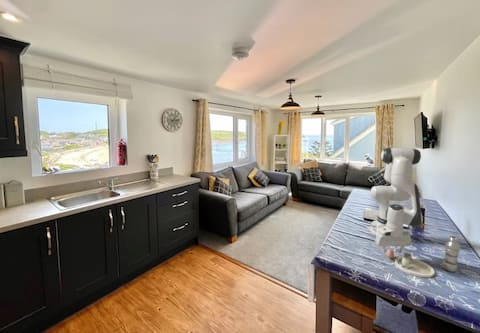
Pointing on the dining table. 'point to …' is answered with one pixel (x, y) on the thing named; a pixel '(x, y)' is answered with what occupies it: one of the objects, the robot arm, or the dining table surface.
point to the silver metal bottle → (451, 254)
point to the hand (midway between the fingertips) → (392, 252)
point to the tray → (416, 268)
